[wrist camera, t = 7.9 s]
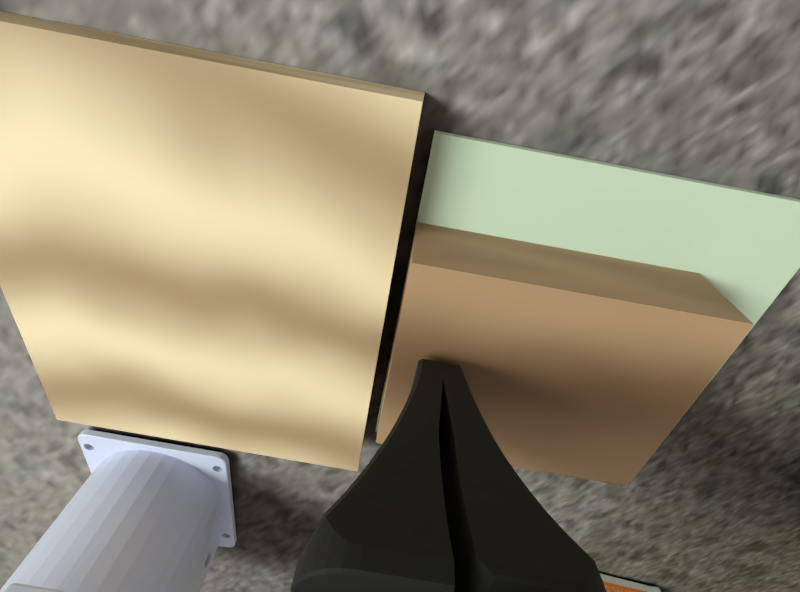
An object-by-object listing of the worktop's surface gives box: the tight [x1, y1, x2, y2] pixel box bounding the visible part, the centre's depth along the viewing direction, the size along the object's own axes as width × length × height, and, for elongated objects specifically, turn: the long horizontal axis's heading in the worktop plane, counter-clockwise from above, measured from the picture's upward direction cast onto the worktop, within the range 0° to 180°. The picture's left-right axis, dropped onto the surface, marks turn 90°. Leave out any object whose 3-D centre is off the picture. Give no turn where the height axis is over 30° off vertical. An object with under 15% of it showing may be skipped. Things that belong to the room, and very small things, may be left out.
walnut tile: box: [376, 222, 754, 486], centre depth 15 cm, size 8×10×3 cm
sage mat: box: [375, 130, 800, 449], centre depth 17 cm, size 14×13×1 cm
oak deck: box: [0, 11, 425, 471], centre depth 16 cm, size 16×14×2 cm
